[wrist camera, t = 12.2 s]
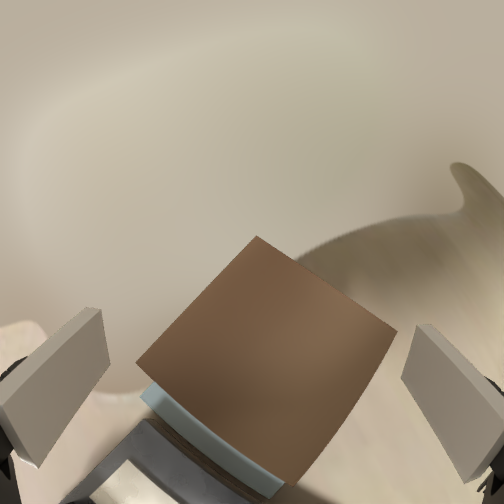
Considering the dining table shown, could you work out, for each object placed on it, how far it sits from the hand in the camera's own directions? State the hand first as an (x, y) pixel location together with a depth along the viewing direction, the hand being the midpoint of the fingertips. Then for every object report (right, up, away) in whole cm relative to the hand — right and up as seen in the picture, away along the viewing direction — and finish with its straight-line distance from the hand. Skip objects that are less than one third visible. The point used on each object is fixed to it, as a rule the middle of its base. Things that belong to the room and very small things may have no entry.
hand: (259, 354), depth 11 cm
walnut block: (0, -4, +5) cm, 7 cm away
